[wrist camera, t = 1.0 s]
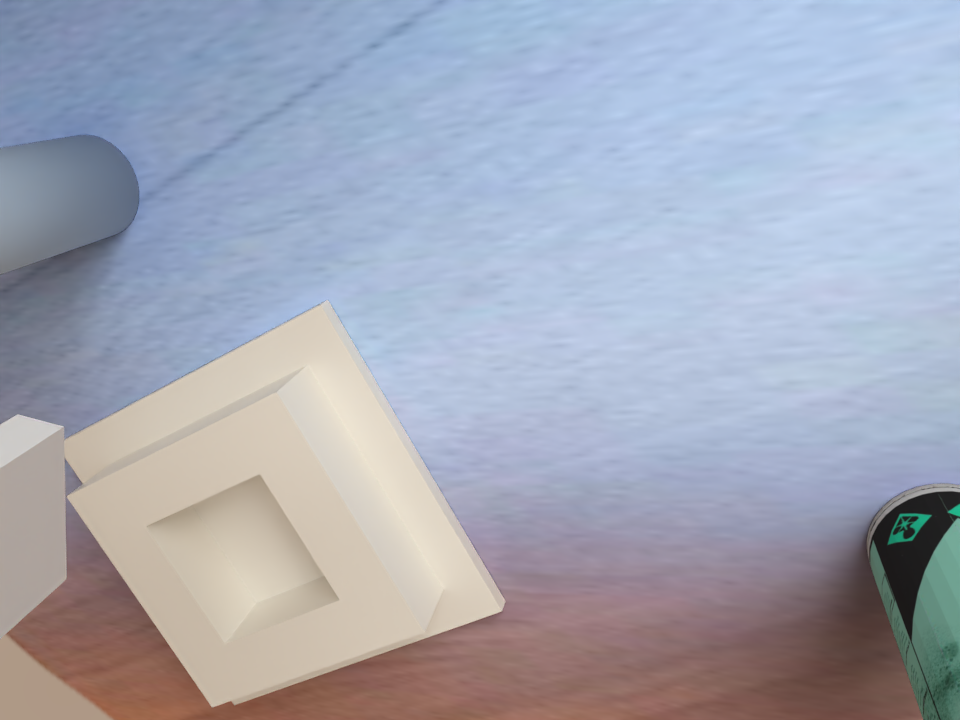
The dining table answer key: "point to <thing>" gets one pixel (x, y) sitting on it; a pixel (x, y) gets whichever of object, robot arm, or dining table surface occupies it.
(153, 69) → the dining table surface
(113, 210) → the peg
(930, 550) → the spray can
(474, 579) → the socket
